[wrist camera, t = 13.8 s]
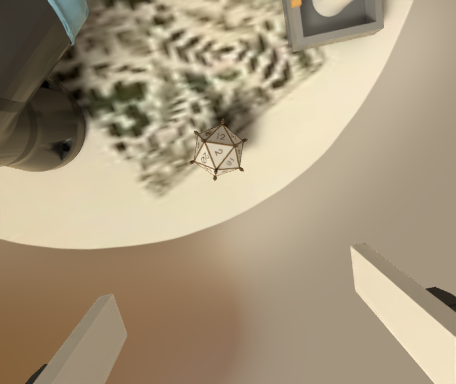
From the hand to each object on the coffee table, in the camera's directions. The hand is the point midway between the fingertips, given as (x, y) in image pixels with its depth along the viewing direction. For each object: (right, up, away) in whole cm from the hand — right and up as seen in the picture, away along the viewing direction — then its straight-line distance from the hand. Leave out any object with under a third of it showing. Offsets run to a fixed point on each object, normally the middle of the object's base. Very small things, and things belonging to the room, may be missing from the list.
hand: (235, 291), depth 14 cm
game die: (-2, +13, +30) cm, 32 cm away
